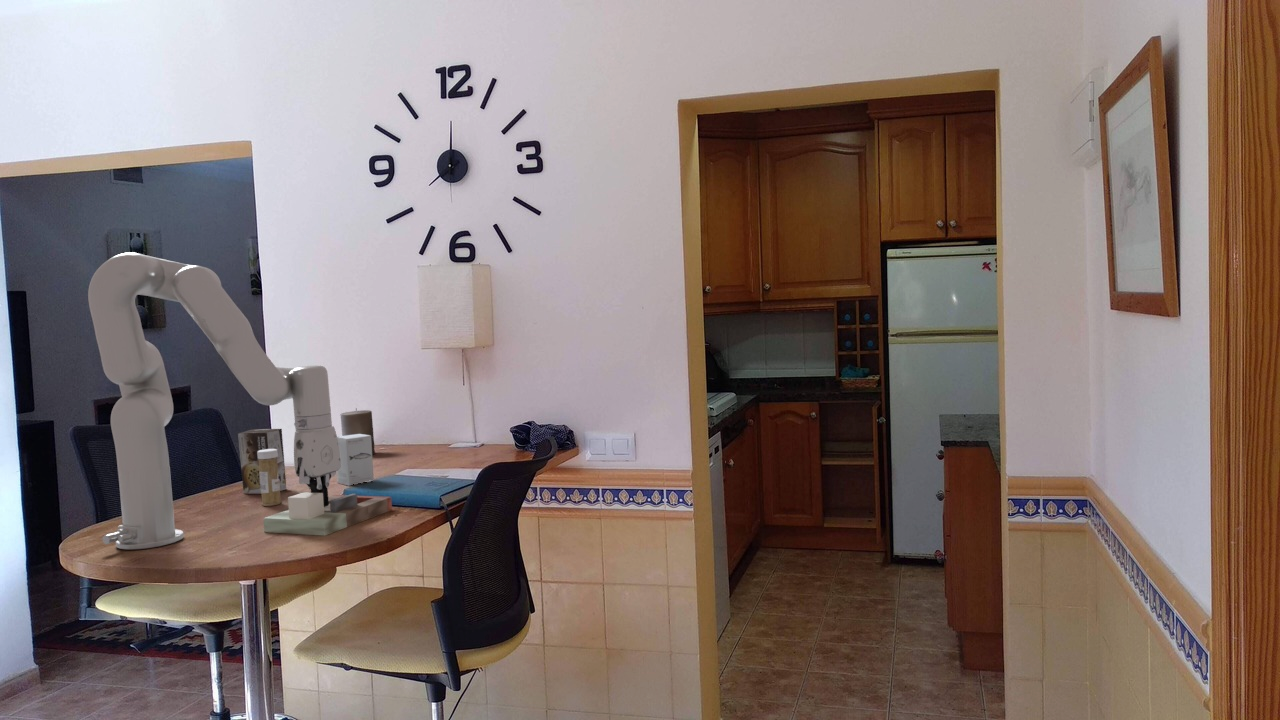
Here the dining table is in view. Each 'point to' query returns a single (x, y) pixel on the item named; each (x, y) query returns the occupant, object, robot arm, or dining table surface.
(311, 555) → the dining table surface
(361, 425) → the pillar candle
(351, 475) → the supplement box
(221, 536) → the dining table surface
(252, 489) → the coffee box
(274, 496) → the sprinkles bottle
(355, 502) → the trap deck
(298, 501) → the cream block
